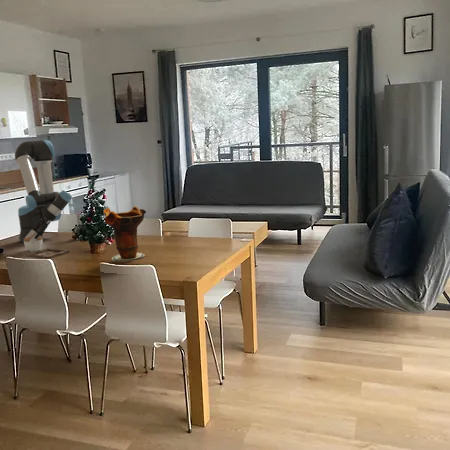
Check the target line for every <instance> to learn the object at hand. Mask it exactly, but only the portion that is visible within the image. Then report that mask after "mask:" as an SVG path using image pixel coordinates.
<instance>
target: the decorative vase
mask: <svg viewBox="0 0 450 450" xmlns="http://www.w3.org/2000/svg"><path fill="white" fill-rule="evenodd" d="M146 213H147V211H146V210H145V209H143V208H140V209H139V207H138V206H133V207H132V208H131V210H129V211H123V212H122V211H121V212H115V211H112V210H111V208H104V210H103V214H104V216H105V217H104V223H105V224H107V225H108V226H109V227H111V228H112V229H113V235H114V241H115V245H116V255H114V256H113V257H112V258H111V260H112V261H113V262H131V261H135V260H137V259H141V258H143V257H145V253H144V254H143V252H138V250H139V244H138V234H137V233H138V228H139V226H140V224H141V223H142V222H143V221H144V218H145V214H146ZM117 252H118V254H117Z"/></svg>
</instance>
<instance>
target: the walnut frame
mask: <svg viewBox="0 0 450 450" xmlns="http://www.w3.org/2000/svg"><path fill="white" fill-rule="evenodd" d="M51 251H52V252H57V253H52V252H51ZM42 253H43V254H42ZM44 253H46V254H48V255H46V254H44ZM69 253H70V250H69V249H60V248H53V247H52V248H51V247H47V248H43V249H40V250H39V251H34V252H30V253H26V254H25V257H28V258H35V259H43V258H45V259H44V260H49V259H52V258H56V257H59V256H62V255H65V254H69Z"/></svg>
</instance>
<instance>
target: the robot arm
mask: <svg viewBox="0 0 450 450" xmlns="http://www.w3.org/2000/svg"><path fill="white" fill-rule="evenodd" d="M55 152H56V151H55V149H54V145H53V143H52V141H50V140H48V139H42V140H41V139H40V140H25V141H22V142H21V143H19V145H18V146H17V147H16V150H15V152H14V160H15V163H16V165H18V167H19V170H20V173H21V176H22V180H23V183H24V187H25V191H26V193H27V195H26V196H25V204H26V205H23V206H20V207H19V208H18V210H17V212H18V215H17V216H18V220H19V229H20V231H19V236H18V241H19V243H24V241H23V239H24V238H27V237H32V235H33V237H32V239H31V240H30V241H29V242H31V243H32V244H34V243H35V241H36V240H37V239H38V238H39V237H40V236H42V240H44V233H45V231H46V230H47V228H48V227H49V225H50V224H51V222H52V223H53V222H56V221H59V220H60V219H61V217H62V211H63V210H64V209H65V208H66V206H67V205H68V204H69V203H70V201H71V200H72V199H73V196H72V195H71V194H70V193H69V192H67V191H66V190H63V189H62V190H61V191H60V192H59V191H55V189H54V183H53V181H54V180H53V173H52V167H51V166H52V165H51V163H52V162H53V158H55V157H56V153H55ZM32 160H33V162H34V163H35V164H36V169H37V175H36V174H35V171H34V170H35V169H34V167H33V163H32ZM37 178H38V180H37Z"/></svg>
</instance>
